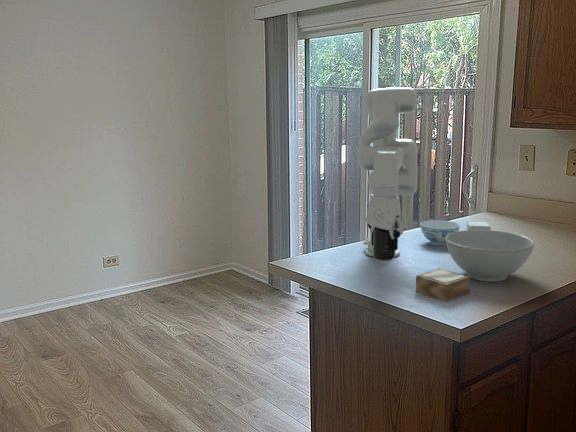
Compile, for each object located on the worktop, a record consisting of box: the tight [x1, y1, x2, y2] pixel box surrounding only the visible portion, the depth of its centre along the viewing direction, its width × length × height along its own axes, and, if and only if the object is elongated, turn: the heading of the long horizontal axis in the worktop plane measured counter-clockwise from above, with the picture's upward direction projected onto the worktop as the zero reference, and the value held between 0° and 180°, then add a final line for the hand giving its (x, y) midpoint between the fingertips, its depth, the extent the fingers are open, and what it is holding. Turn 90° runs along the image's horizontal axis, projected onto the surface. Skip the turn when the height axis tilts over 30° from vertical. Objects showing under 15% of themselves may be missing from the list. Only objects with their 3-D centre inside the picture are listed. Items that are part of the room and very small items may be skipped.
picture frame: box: [415, 268, 471, 302], centre depth 170 cm, size 11×11×5 cm
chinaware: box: [420, 219, 461, 246], centre depth 225 cm, size 15×15×8 cm
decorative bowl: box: [445, 229, 535, 282], centre depth 184 cm, size 27×27×12 cm
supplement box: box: [466, 221, 491, 230], centre depth 204 cm, size 7×7×13 cm
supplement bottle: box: [373, 228, 395, 261], centre depth 177 cm, size 7×7×12 cm
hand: (384, 247), depth 178 cm, fingers closed on supplement bottle, 6 cm apart
